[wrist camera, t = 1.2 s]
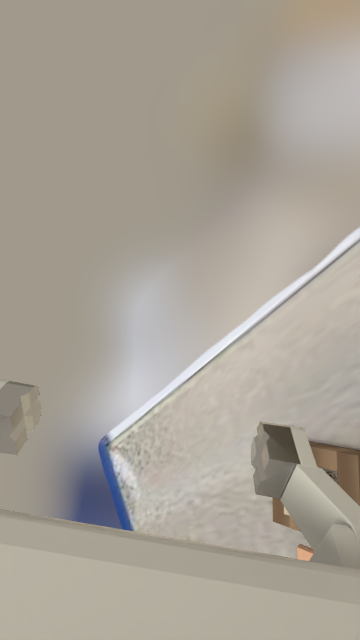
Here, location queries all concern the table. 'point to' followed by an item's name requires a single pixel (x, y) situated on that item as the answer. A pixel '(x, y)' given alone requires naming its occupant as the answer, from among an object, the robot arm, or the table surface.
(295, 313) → the table surface
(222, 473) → the table surface
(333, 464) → the walnut collar holder
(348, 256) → the table surface
